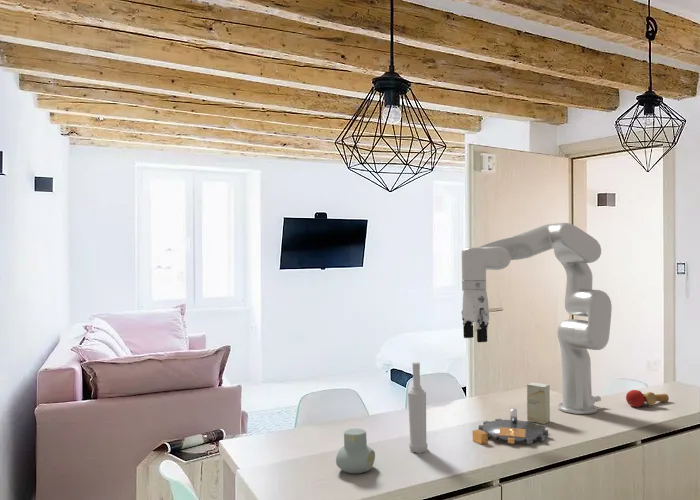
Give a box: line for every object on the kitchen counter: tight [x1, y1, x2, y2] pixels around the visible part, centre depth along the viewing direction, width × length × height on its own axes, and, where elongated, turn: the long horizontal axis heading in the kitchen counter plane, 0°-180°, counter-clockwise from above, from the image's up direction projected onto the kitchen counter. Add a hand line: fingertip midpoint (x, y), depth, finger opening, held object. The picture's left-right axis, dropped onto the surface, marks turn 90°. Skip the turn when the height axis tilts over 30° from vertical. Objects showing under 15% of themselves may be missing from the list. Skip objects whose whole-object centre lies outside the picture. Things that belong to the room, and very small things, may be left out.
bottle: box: [407, 361, 428, 454], centre depth 159 cm, size 5×5×25 cm
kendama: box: [625, 389, 670, 408], centre depth 198 cm, size 8×6×18 cm
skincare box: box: [526, 381, 551, 425], centre depth 183 cm, size 6×4×12 cm
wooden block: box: [472, 428, 489, 446], centre depth 167 cm, size 17×7×3 cm, turn 116°
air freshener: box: [335, 428, 376, 474], centre depth 145 cm, size 11×8×10 cm
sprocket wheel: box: [478, 408, 549, 444], centre depth 169 cm, size 20×20×5 cm
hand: (475, 339), depth 176 cm, fingers open, 9 cm apart
